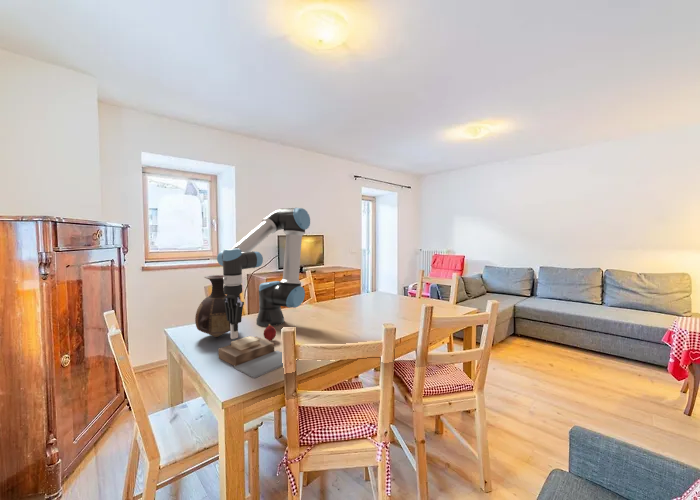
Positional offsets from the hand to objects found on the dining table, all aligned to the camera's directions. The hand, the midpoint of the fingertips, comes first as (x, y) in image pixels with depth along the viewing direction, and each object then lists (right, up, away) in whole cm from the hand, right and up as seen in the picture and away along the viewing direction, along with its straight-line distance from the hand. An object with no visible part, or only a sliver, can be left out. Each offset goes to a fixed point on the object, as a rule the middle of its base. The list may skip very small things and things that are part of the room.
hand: (234, 337), depth 134 cm
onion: (+13, -5, +11) cm, 17 cm away
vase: (-14, -4, +17) cm, 23 cm away
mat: (+18, -6, -14) cm, 24 cm away
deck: (+7, -6, -6) cm, 11 cm away
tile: (+7, -2, -5) cm, 9 cm away
